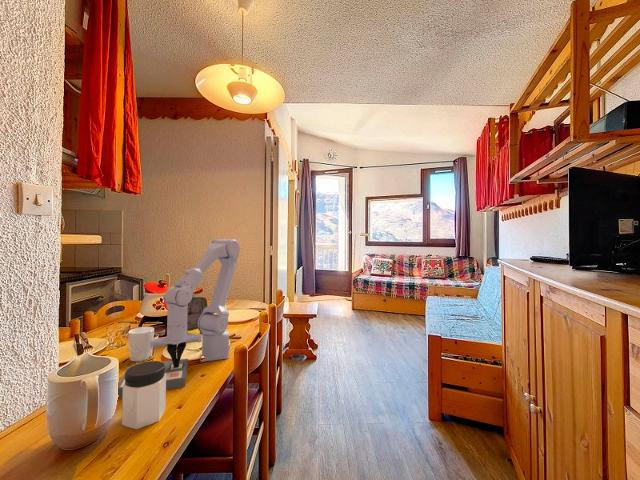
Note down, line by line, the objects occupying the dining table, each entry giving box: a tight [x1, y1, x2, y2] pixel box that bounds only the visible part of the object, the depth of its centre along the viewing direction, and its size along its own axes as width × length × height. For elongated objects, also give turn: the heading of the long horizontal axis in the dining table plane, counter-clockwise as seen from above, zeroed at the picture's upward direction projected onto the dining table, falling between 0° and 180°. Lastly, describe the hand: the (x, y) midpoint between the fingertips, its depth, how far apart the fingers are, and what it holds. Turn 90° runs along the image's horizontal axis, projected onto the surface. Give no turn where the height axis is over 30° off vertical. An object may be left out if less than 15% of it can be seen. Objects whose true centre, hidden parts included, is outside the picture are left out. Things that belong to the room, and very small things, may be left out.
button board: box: [118, 358, 189, 398], centre depth 83 cm, size 17×14×3 cm
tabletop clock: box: [187, 292, 208, 335], centre depth 122 cm, size 14×9×25 cm, turn 134°
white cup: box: [127, 326, 155, 362], centre depth 99 cm, size 8×8×10 cm
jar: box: [121, 360, 167, 430], centre depth 66 cm, size 9×8×12 cm
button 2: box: [170, 363, 183, 370], centre depth 87 cm, size 3×3×2 cm
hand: (176, 366), depth 87 cm, fingers closed, pressing on button 2
